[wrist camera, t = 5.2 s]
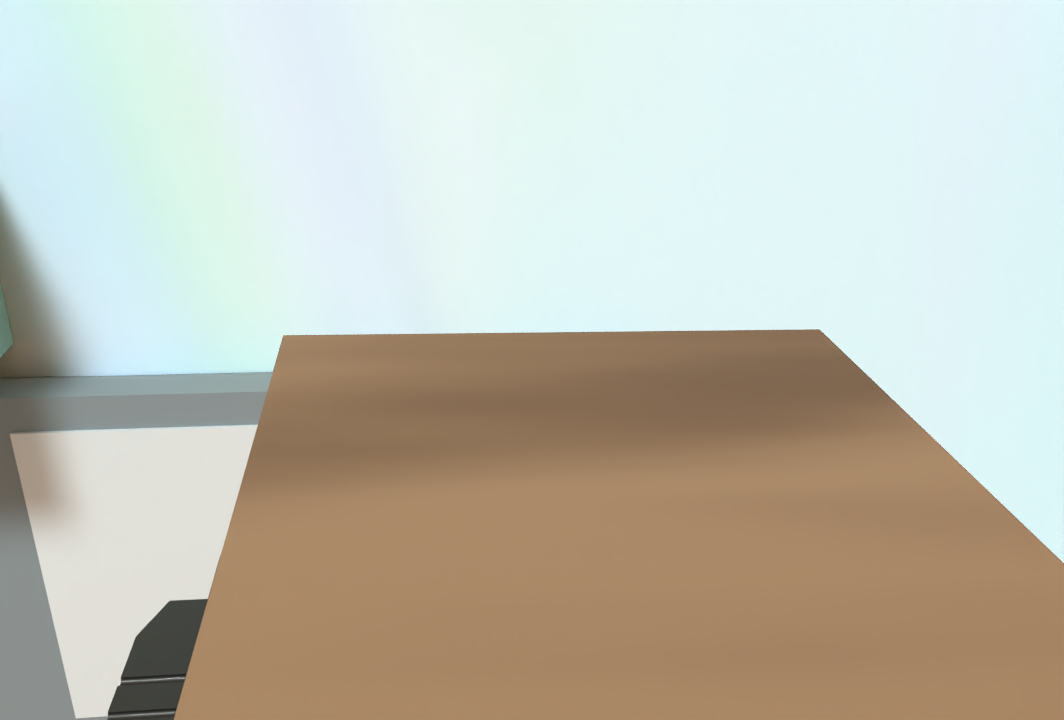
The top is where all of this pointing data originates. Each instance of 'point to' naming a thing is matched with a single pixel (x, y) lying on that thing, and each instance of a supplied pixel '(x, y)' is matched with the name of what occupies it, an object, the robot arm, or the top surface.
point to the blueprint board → (108, 521)
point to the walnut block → (614, 541)
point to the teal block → (4, 326)
